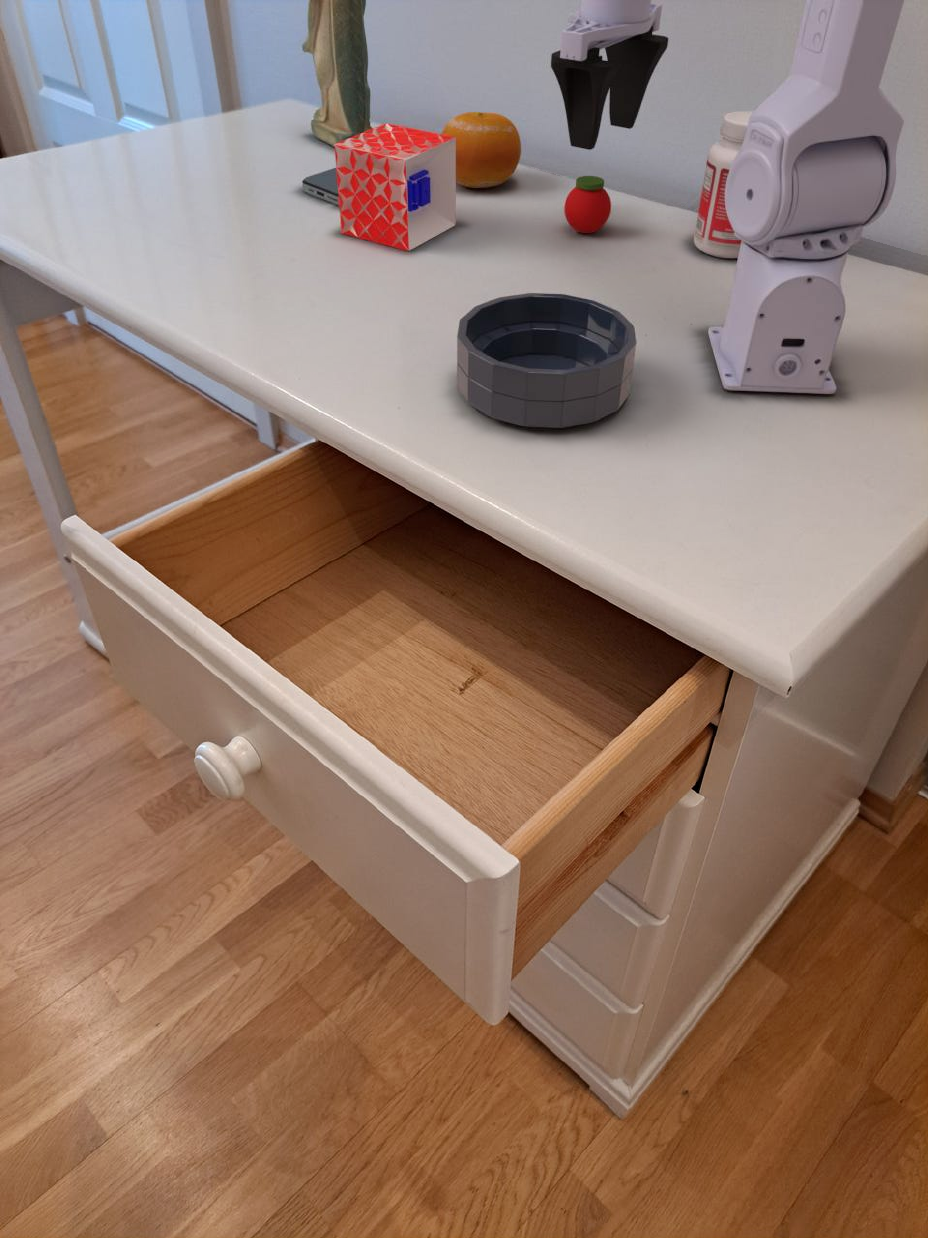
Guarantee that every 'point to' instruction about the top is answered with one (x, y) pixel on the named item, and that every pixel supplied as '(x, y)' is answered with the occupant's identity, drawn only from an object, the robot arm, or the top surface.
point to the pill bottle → (720, 190)
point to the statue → (339, 68)
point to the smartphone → (323, 186)
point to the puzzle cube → (396, 185)
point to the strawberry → (588, 205)
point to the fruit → (484, 148)
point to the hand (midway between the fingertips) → (602, 136)
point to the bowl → (545, 359)
